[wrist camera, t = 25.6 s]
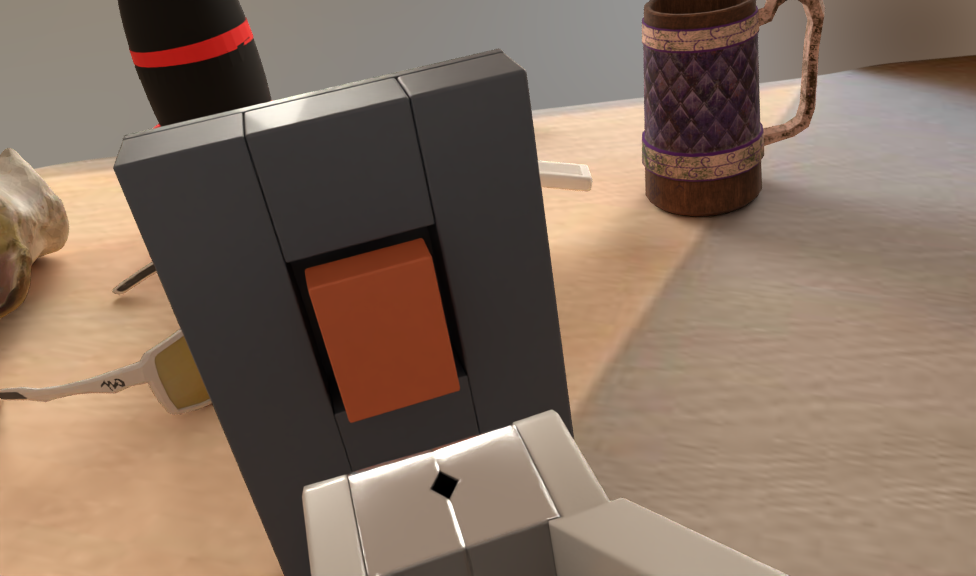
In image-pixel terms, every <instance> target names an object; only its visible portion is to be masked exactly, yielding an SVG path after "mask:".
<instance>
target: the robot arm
mask: <svg viewBox="0 0 976 576" xmlns="http://www.w3.org/2000/svg"><path fill="white" fill-rule="evenodd" d="M302 501H303V510H304V518H305V527H306V535H307V544H308V552H309V561H310V569H311V576H789V575H787V574H785V573H783V572H781V571H779V570H776V569H774V568H772V567H770V566H768V565H766V564H764V563H761V562H759V561H757V560H755V559H753V558H751V557H749V556H746V555H744V554H742V553H740V552H738V551H736V550H734V549H732V548H729V547H727V546H725V545H723V544H721V543H719V542H717V541H714V540H712V539H710V538H708V537H706V536H704V535H702V534H700V533H697V532H695V531H693V530H691V529H689V528H687V527H685V526H682V525H680V524H678V523H676V522H674V521H672V520H670V519H667V518H665V517H663V516H661V515H659V514H657V513H655V512H653V511H650V510H648V509H646V508H644V507H642V506H640V505H638V504H635V503H633V502H631V501H629V500H627V499H625V498H623V497H622V498H619V499H615V500H612V501H610V500H609V499H608V497H607V495H606V494H605V492H604V490H603V488H602V487H601V485H600V483H599V482H598V480H597V478H596V477H595V475H594V473H593V472H592V470H591V468H590V466H589V465H588V463H587V461H586V460H585V458H584V456H583V455H582V453H581V451H580V450H579V448H578V446H577V445H576V443H575V441H574V439H573V438H572V436H571V434H570V433H569V431H568V429H567V428H566V426H565V424H564V423H563V421H562V419H561V417H560V416H559V414H558V413H557V412H555V411H554V410H549V411H546V412H543V413H540V414H537V415H534V416H531V417H528V418H525V419H522V420H519V421H516V422H513V424H509V425H506V426H503V427H500V428H496V429H493V430H490V431H487V432H484V433H481V434H478V435H474V436H471V437H468V438H465V439H462V440H459V441H455V442H452V443H449V444H446V445H443V446H440V447H437V448H433V449H430V450H426V451H423V452H419V453H416V454H412V455H409V456H405V457H402V458H398V459H395V460H391V461H388V462H384V463H381V464H377V465H374V466H370V467H367V468H363V469H360V470H356V471H353V472H349V473H348V475H342V476H338V477H335V478H331V479H328V480H324V481H321V482H317V483H314V484H310V485H307V486H304V488H303V494H302Z"/></svg>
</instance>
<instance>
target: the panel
mask: <svg viewBox="0 0 976 576" xmlns="http://www.w3.org/2000/svg"><path fill="white" fill-rule="evenodd" d="M113 169H114V171H115V174H116V176H117V178H118V181H119V183H120V185H121V188H122V190H123V193H124V195H125V197H126V200H127V202H128V204H129V207H130V209H131V212H132V214H133V216H134V219H135V221H136V224H137V226H138V228H139V231H140V233H141V235H142V238H143V240H144V243H145V245H146V247H147V250H148V252H149V254H150V257H151V259H152V262H153V264H154V266H155V269H156V271H157V274H158V276H159V278H160V281H161V283H162V285H163V288H164V290H165V293H166V295H167V297H168V300H169V302H170V304H171V307H172V309H173V312H174V314H175V316H176V319H177V321H178V324H179V326H180V328H181V331H182V333H183V335H184V338H185V340H186V343H187V345H188V347H189V350H190V352H191V354H192V357H193V359H194V362H195V364H196V366H197V369H198V371H199V374H200V376H201V378H202V381H203V383H204V385H205V388H206V390H207V393H208V395H209V397H210V400H211V402H212V404H213V407H214V409H215V412H216V414H217V416H218V419H219V421H220V424H221V426H222V428H223V431H224V433H225V435H226V438H227V440H228V443H229V445H230V447H231V450H232V452H233V454H234V457H235V459H236V462H237V464H238V466H239V469H240V471H241V474H242V476H243V478H244V481H245V483H246V485H247V488H248V490H249V493H250V495H251V497H252V500H253V502H254V504H255V507H256V509H257V512H258V514H259V516H260V519H261V521H262V524H263V526H264V528H265V531H266V533H267V535H268V538H269V540H270V543H271V545H272V547H273V550H274V552H275V554H276V557H277V559H278V562H279V564H280V566H281V569H282V571H283V574H284V576H311V569H310V561H309V552H308V544H307V535H306V527H305V518H304V510H303V501H302V494H303V488H304V486H307V485H310V484H314V483H317V482H321V481H324V480H328V479H331V478H335V477H338V476H342V475H348V473H349V472H353V471H356V470H360V469H363V468H367V467H370V466H374V465H377V464H381V463H384V462H388V461H391V460H395V459H398V458H402V457H405V456H409V455H412V454H416V453H419V452H423V451H426V450H430V449H433V448H437V447H440V446H443V445H446V444H449V443H452V442H455V441H459V440H462V439H465V438H468V437H471V436H474V435H478V434H481V433H484V432H487V431H490V430H493V429H496V428H500V427H503V426H506V425H509V424H513V422H516V421H519V420H522V419H525V418H528V417H531V416H534V415H537V414H540V413H543V412H546V411H549V410H554V411H555V412H557V413H558V414H559V416H560V417H561V419H562V421H563V423H564V424H565V426H566V428H567V429H568V431H569V433H570V434H571V436H572V438H573V439H574V435H573V427H572V419H571V412H570V404H569V396H568V389H567V381H566V373H565V365H564V358H563V350H562V342H561V335H560V327H559V319H558V312H557V304H556V296H555V288H554V281H553V273H552V265H551V258H550V250H549V242H548V235H547V227H546V219H545V211H544V204H543V196H542V188H541V181H540V173H539V165H538V158H537V150H536V142H535V134H534V127H533V119H532V111H531V104H530V96H529V88H528V80H527V73H526V70H525V69H524V68H523V67H521V66H520V65H518V64H517V63H516V62H515V61H514V60H512V59H511V58H510V57H508V56H507V55H506V54H505V53H504V52H503V51H502V50H501V49H495V50H491V51H486V52H482V53H477V54H473V55H469V56H465V57H461V58H456V59H452V60H448V61H443V62H439V63H434V64H431V65H426V66H422V67H417V68H413V69H408V70H404V71H400V72H396V73H391V74H387V75H383V76H378V77H374V78H370V79H365V80H361V81H357V82H352V83H348V84H344V85H339V86H335V87H331V88H327V89H322V90H318V91H314V92H309V93H305V94H300V95H296V96H292V97H287V98H283V99H279V100H274V101H270V102H266V103H262V104H257V105H253V106H249V107H244V108H240V109H236V110H231V111H227V112H223V113H218V114H214V115H210V116H205V117H201V118H197V119H192V120H188V121H184V122H179V123H175V124H171V125H167V126H162V127H158V128H154V129H149V130H145V131H141V132H136V133H132V134H128V135H125V136H124V138H123V141H122V144H121V147H120V150H119V152H118V155H117V158H116V161H115V164H114V167H113ZM419 238H422V239H423V240H424V242H425V244H426V246H427V248H428V250H429V252H430V254H431V256H432V260H433V264H434V269H435V274H436V278H437V283H438V287H439V292H440V297H441V301H442V306H443V311H444V315H445V320H446V325H447V329H448V334H449V338H450V343H451V348H452V352H453V357H454V362H455V366H456V371H457V375H458V380H459V385H460V390H459V391H457V392H453V393H450V394H447V395H443V396H440V397H437V398H433V399H430V400H427V401H423V402H420V403H417V404H413V405H410V406H407V407H403V408H400V409H396V410H393V411H390V412H386V413H383V414H380V415H376V416H373V417H370V418H366V419H363V420H360V421H356V422H353V423H350V421H349V420H348V416H347V413H346V410H345V407H344V404H343V400H342V397H341V394H340V391H339V388H338V384H337V381H336V378H335V375H334V372H333V369H332V365H331V362H330V359H329V356H328V353H327V349H326V346H325V343H324V340H323V337H322V333H321V330H320V327H319V324H318V321H317V317H316V314H315V311H314V308H313V305H312V302H311V298H310V295H309V292H308V287H307V282H306V276H305V269H307V268H310V267H314V266H317V265H321V264H325V263H329V262H333V261H336V260H340V259H344V258H348V257H351V256H355V255H359V254H363V253H366V252H370V251H374V250H378V249H381V248H385V247H389V246H393V245H397V244H400V243H404V242H408V241H412V240H415V239H419Z"/></svg>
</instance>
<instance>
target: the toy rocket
mask: <svg viewBox="0 0 976 576" xmlns="http://www.w3.org/2000/svg"><path fill="white" fill-rule="evenodd" d="M118 5H119V10H120V14H121V18H122V23H123V27H124V30H125V34H126V38H127V41H128V45H129V50H130V53H131V56H132V59H133V62H134V64H135V68H136V71H137V73H138V76H139V79H140V80H141V83H142V85H143V88H144V90H145V93H146V95H147V98H148V100H149V102H150V105H151V107H152V109H153V111H154V114H155V116H156V118H157V120H158V122H159V124H158V125H156V126H155V127H154V128H158V127H162V126H167V125H171V124H175V123H179V122H184V121H188V120H192V119H197V118H201V117H205V116H210V115H214V114H218V113H223V112H227V111H231V110H236V109H240V108H244V107H249V106H253V105H257V104H262V103H266V102H270V101H273V100H271V96H270V92H269V88H268V83H267V80H266V76H265V73H264V69H263V66H262V62H261V59H260V56H259V53H258V50H257V47H256V44H255V41H254V39H253V34H252V32H251V29H250V26H249V24H248V21H247V18H246V17H245V15H244V12H243V10H242V7H241V5H240V3H239V1H238V0H118ZM154 128H153V129H154Z"/></svg>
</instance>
